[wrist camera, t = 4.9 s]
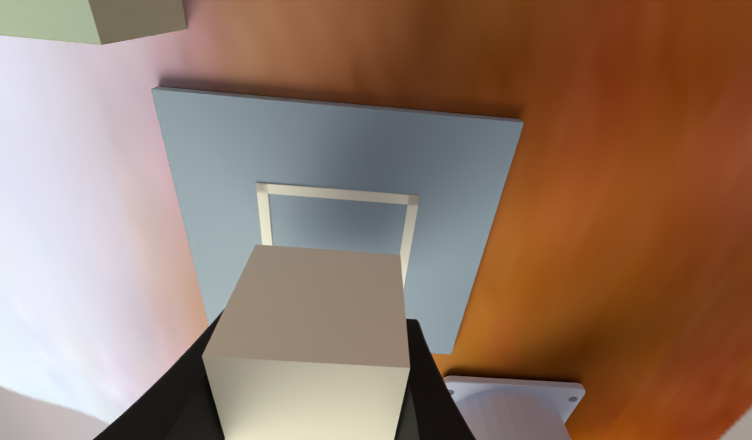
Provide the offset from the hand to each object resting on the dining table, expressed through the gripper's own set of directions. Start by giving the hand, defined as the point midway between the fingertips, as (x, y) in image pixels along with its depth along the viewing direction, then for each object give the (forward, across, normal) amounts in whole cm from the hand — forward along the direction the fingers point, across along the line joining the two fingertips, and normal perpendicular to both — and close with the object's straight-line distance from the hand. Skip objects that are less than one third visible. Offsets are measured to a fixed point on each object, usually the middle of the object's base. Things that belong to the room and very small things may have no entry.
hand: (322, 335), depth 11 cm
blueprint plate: (+5, 0, 0) cm, 5 cm away
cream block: (+1, 0, 0) cm, 1 cm away
